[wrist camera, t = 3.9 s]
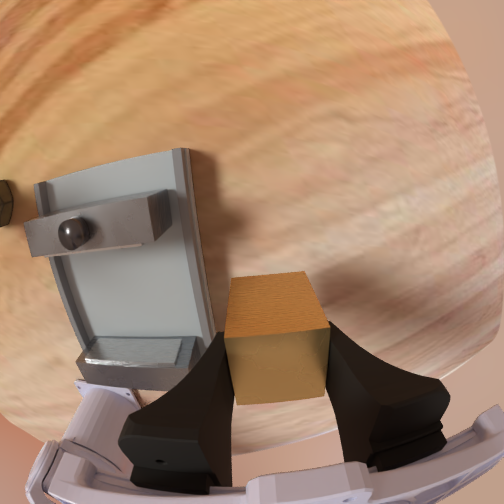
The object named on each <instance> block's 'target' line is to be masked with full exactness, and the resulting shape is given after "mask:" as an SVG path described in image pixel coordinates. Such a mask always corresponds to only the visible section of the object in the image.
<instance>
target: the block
mask: <svg viewBox="0 0 504 504" xmlns="http://www.w3.org/2000/svg"><path fill="white" fill-rule="evenodd" d="M224 341H225V347H226V352H227V358H228V363H229V368H230V373H231V378H232V383H233V388H234V393H235V398H236V403H237V405H249V404H264V403H275V402H285V401H293V400H301V399H309V398H315V397H322V396H324V394H325V385H326V375H327V365H328V354H329V341H330V325H329V323H328V321H327V318H326V316H325V314H324V312H323V310H322V308H321V305H320V303H319V301H318V299H317V297H316V295H315V292H314V290H313V288H312V286H311V284H310V282H309V280H308V278H307V276H306V273H305V271H301V272H291V273H280V274H269V275H258V276H247V277H236V278H231V284H230V292H229V300H228V308H227V316H226V324H225V333H224Z"/></svg>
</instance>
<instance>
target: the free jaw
mask: <svg viewBox="0 0 504 504" xmlns="http://www.w3.org/2000/svg"><path fill="white" fill-rule="evenodd" d="M172 225H173V224H172V217H171V211H170V204H169V197H168V190H167V188H166V189H160V190H153V191H147V192H141V193H135V194H130V195H124V196H119V197H114V198H108V199H103V200H98V201H93V202H89V203H84V204H79V205H75V206H71V207H66V208H62V209H58V210H54V211H51V212H49V213H46V214H44V215H41V216H39V217H36V218H34V219H31V220H29V221H26V222H24V227H25V232H26V236H27V240H28V244H29V248H30V252H31V256H32V257H37V256H44V257H53V256H61V255H69V254H77V253H85V252H93V251H102V250H110V249H119V248H128V247H137V246H142V245H143V244H144V243H151V242H155V241H156V240H157V239H158V238H159V237H160V236H161V235H162V234H163V233H165V232H166V231H167V230H168V229H169V228H170V227H171V226H172Z"/></svg>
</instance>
